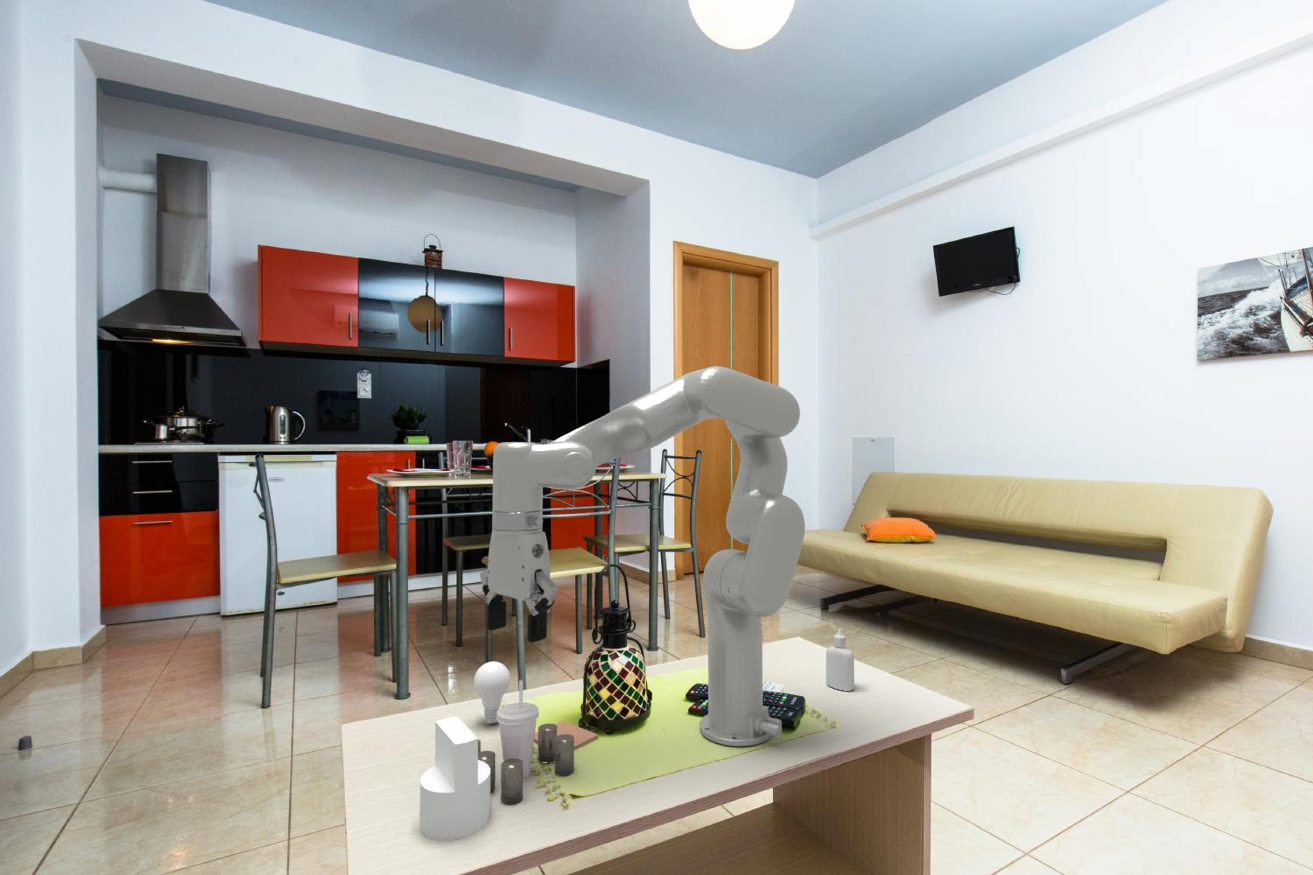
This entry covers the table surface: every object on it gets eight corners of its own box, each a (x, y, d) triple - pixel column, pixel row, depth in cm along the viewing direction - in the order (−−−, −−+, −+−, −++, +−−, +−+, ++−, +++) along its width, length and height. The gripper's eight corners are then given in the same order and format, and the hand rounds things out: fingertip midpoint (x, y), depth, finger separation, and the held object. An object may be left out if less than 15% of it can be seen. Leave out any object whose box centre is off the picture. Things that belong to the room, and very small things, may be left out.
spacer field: (582, 767, 99) (582, 735, 99) (504, 810, 87) (504, 773, 87) (528, 743, 107) (528, 713, 107) (450, 779, 96) (450, 746, 96)
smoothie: (547, 773, 97) (547, 681, 98) (511, 789, 93) (511, 692, 93) (523, 759, 102) (523, 671, 102) (488, 773, 97) (488, 681, 97)
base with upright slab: (500, 824, 84) (500, 732, 84) (431, 849, 79) (431, 751, 79) (476, 794, 92) (477, 710, 92) (412, 815, 86) (412, 726, 87)
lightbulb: (488, 734, 111) (489, 670, 111) (466, 724, 115) (466, 663, 115) (517, 721, 116) (517, 661, 116) (494, 713, 120) (495, 654, 120)
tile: (598, 737, 109) (598, 734, 109) (563, 754, 103) (563, 751, 103) (562, 723, 115) (562, 720, 115) (527, 739, 109) (527, 736, 109)
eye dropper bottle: (842, 681, 135) (841, 625, 136) (857, 691, 130) (856, 632, 130) (823, 683, 134) (823, 626, 134) (837, 693, 129) (837, 633, 129)
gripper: (574, 524, 95) (573, 639, 95) (502, 516, 106) (501, 619, 106) (535, 529, 90) (534, 651, 89) (463, 520, 101) (462, 629, 100)
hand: (516, 634), depth 98 cm, fingers open, 9 cm apart
